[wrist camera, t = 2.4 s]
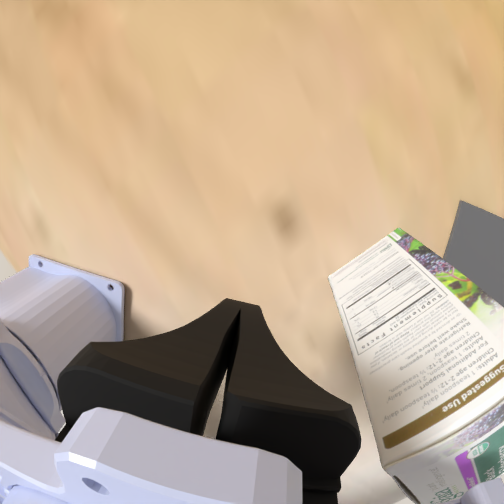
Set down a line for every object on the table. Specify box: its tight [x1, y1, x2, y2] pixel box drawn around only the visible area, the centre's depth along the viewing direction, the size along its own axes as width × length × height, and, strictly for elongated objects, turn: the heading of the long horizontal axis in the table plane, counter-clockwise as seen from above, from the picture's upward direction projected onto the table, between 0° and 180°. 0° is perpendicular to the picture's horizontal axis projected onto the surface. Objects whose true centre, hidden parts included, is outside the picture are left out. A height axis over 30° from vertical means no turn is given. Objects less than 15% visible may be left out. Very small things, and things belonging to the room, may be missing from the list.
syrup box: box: [328, 228, 504, 504], centre depth 13 cm, size 6×6×14 cm
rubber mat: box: [443, 200, 504, 308], centre depth 19 cm, size 16×14×1 cm
